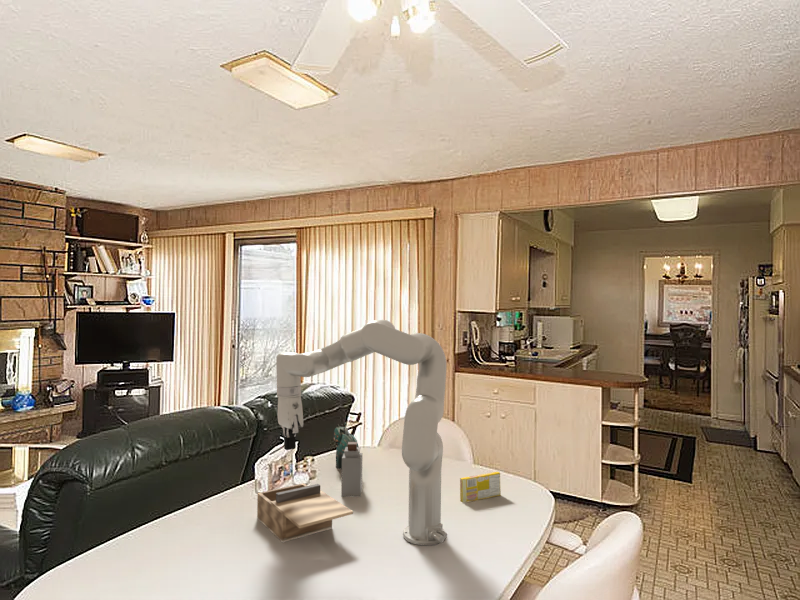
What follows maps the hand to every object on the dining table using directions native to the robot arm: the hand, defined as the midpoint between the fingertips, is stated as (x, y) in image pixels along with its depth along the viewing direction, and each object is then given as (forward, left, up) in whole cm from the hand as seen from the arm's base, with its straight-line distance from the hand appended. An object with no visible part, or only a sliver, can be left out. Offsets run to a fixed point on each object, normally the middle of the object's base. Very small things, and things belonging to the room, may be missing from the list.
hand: (289, 448), depth 165 cm
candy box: (-23, -63, -22) cm, 70 cm away
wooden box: (-5, 0, -22) cm, 22 cm away
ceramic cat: (+27, -38, -22) cm, 52 cm away
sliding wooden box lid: (-16, 0, -14) cm, 21 cm away
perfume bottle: (+7, -28, -22) cm, 36 cm away
